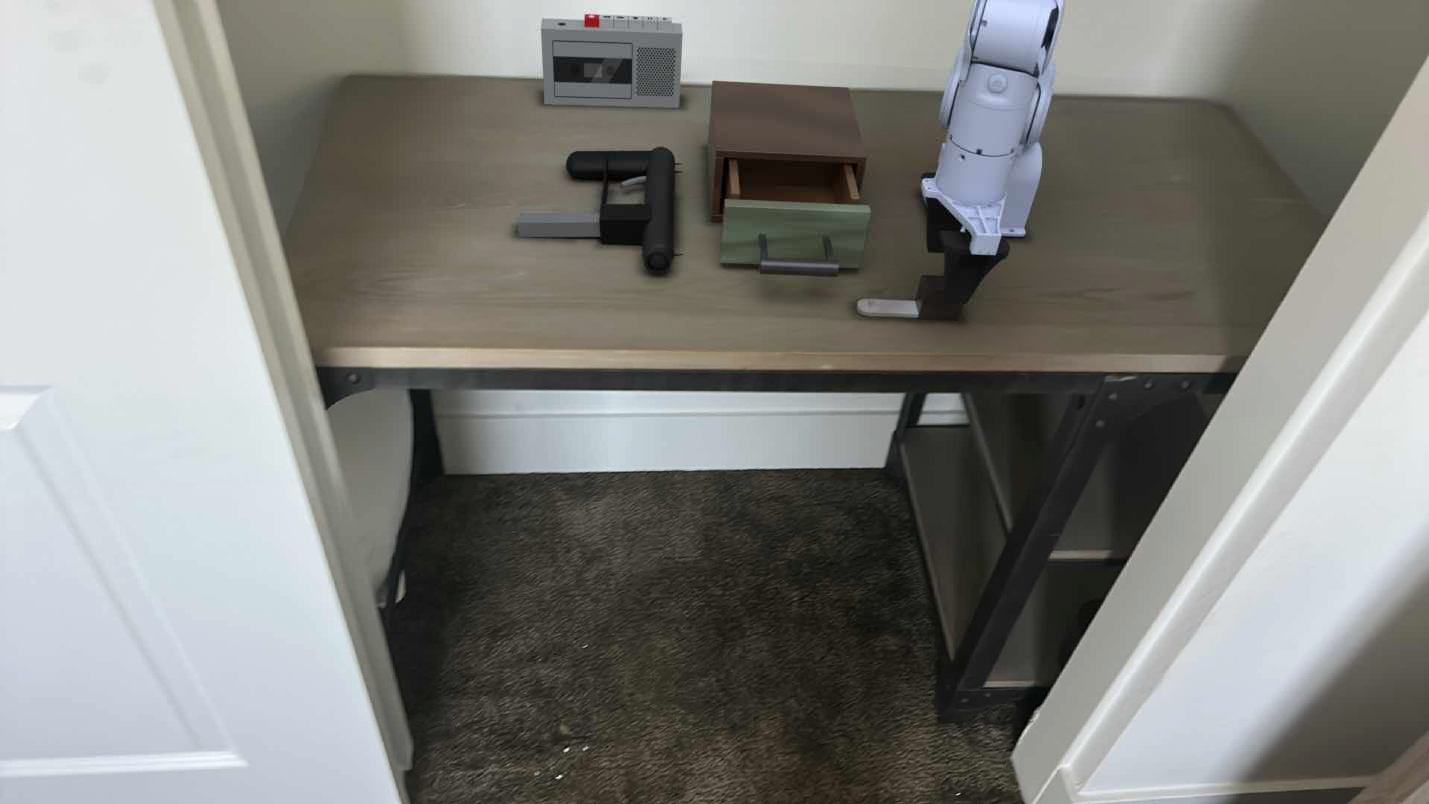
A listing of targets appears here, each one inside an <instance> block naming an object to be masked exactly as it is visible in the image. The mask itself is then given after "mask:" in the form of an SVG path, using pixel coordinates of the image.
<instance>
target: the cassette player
mask: <svg viewBox="0 0 1429 804" xmlns="http://www.w3.org/2000/svg"><path fill="white" fill-rule="evenodd" d="M583 17H584V19H571V18H569V19H567V18H541V25H540V38H541V39H540V40H541V62H542V80H543V82H542V83H543V101H544V105H552V106H553V105H555V106H586V107H587V106H590V107H591V106H592V107H623V108H625V107H628V108H663V109H680V98H681V78H682V77H681V74H682V59H683V57H682V56H683V55H682V54H683V37H684V35H683V33H684V32H683V25H682V23H680V22H673V20H672V19H673V18H672V17H671V16H652V15H651V16H646V15H625V14H624V15H622V14H621V15H620V14H619V15H618V14H597V13H596V14H595V13H591V14H590V13H584V16H583Z"/></svg>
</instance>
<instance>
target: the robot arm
mask: <svg viewBox="0 0 1429 804" xmlns="http://www.w3.org/2000/svg"><path fill="white" fill-rule="evenodd" d="M1065 7H1066V0H974V1H973V4H972V8H971V11H970V14H969V17H968V22H967V26H966V30H965V33H964V34H965V35H964V39H963V43H962V44H963V45H962V46H961V47H960V50H958V51H957V52H956V54H955V57H954V60H953V65H952V67H951V69H950V72H949V75H948V78H947V80H946V85H945V89H944V92H943V96H942V100H941V104H940V109H939V113H938V120H937V121H938V123H939V124H940V128H941V129H943V130H947V133H946V137H945V142H942V144H941V148H940V152H939V156H938V159H937V163H938V167H937V169H936V172H933V171H928V172H924V173H922V174H921V175H920V181H921V184H920V189H921V195H922V198H923V201H924V204H925V207H926V208H925V209H926V210H925V211H926V227H925V228H926V232H925V233H926V234H925V241H926V242H925V243H926V251H927V253H928V254H943V258H944V259H943V260H944V264H943V265H944V267H943V275H942V276H943V284H942V298H943V302H944V303H945V304H963V306H966V305H967V304H968V302H969V301H970V300H971V298H972V297H973V296H974V294H975V292H976V291H977V289H978V287H979V286H980V284H981V283H982V281H983V280H984V278H985V277H986V276H987V275H988V274H989V273H990V271H992V270H993V269H994V267H996V266H997V265H998V264H999V263H1000V262H1002V261H1004V260H1005V259H1006V258H1008V256H1009V254H1010V251H1011V245H1010V243H1009V240H1008V237H1016V238H1021V237H1023V238H1024V237H1025V236H1026V233H1027V232H1026V229H1025V227H1026V225H1027V221H1028V218H1029V214H1030V212H1031V208H1032V205H1033V202H1034V200H1035V196H1036V193H1037V190H1038V187H1039V184H1040V180H1041V175H1042V169H1043V168H1042V167H1043V151H1042V146H1041V144H1040V142H1039V140H1040V137H1041V134H1042V131H1043V128H1044V125H1045V122H1046V118H1047V115H1048V111H1049V108H1050V104H1051V102H1052V96H1053V93H1054V85H1055V81H1056V78H1057V74H1058V71H1057V70H1056V67H1057V66H1056V63H1055V62H1054V60H1053V59H1052V57H1053V54H1054V51H1055V47H1056V45H1057V40H1058V37H1059V33H1060V30H1061V26H1062V22H1063V18H1064V15H1065Z"/></svg>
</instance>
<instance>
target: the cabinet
mask: <svg viewBox="0 0 1429 804" xmlns="http://www.w3.org/2000/svg"><path fill="white" fill-rule="evenodd" d="M708 121H709V122H708V136H707V137H708V139H707V164H708V165H707V166H708V167H707V168H708V186H709V187H708V188H709V189H708V191H709V209H710V210H709V211H710V212H709V213H710V222H712V223H723V212H724V194H723V177H724V166H725V157H727V158H748V159H770V160H791V161H813V162H834V163H851V165H852V169H853V173H854V177H855V181H856V186H857V190H858V194H859V198H860V197H861V191H862V186H863V181H864V176H865V171H866V165H867V160H868V156H867V151H866V149H865V144H864V141H863V137H862V133H861V129H860V126H859V125H860V124H859V122H858V118H857V114H856V111H855V107H854V103H853V99H852V96H851V92H850V88H849V87H844V86H843V87H842V86H827V85H826V86H825V85H824V86H823V85H805V84H788V83H768V82H767V83H766V82H749V81H747V82H745V81H728V80H727V81H725V80H712V81H711V93H710V108H709V120H708Z"/></svg>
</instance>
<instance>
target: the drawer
mask: <svg viewBox="0 0 1429 804" xmlns="http://www.w3.org/2000/svg"><path fill="white" fill-rule="evenodd" d="M723 194H724V212H723V222H721V223H722V224H721V225H722V226H721V235H720V249H719V263H722V264H744V265H758V273H759V275H769V276H770V275H771V276H774V275H775V276H797V277H823V278H827V277H828V278H837V277H838V276H839V271H840V268H844V269H845V268H846V269H848V268H849V269H861V265H862V260H863V255H864V250H865V247H866V246H865V245H866V240H867V235H868V231H869V230H868V229H869V226H870V221H871V216H872V210H871V206H870V204H869V205H867V204H860V200H861V199H860V197H859V194H858V190H857V186H856V181H855V177H854V173H853V169H852V165H851V163H834V162H813V161H791V160H770V159H748V158H727V157H725V166H724V177H723Z"/></svg>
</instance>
